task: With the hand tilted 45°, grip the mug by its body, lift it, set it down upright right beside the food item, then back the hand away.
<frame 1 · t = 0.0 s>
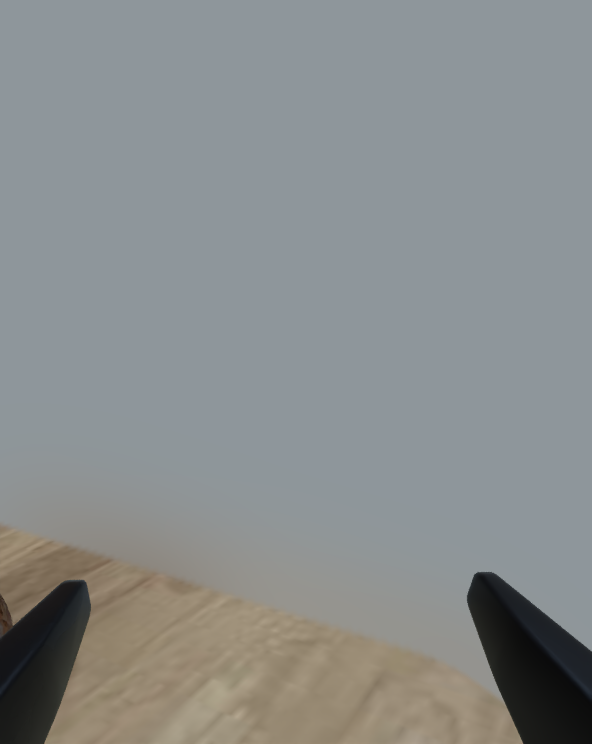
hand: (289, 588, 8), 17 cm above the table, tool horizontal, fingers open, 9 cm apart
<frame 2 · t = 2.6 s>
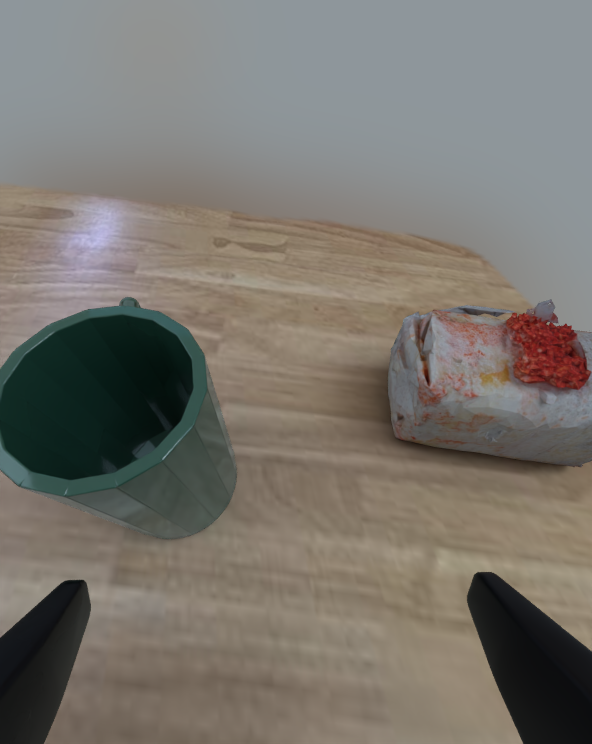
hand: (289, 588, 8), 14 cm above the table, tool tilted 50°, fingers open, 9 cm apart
food item: (468, 415, 27), on the table
mug: (180, 477, 23), on the table
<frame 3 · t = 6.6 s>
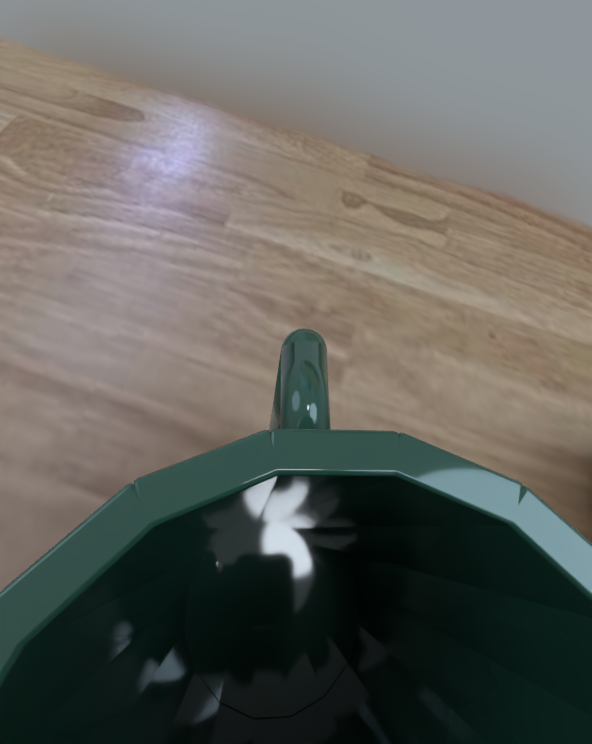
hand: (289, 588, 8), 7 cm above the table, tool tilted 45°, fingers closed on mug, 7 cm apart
mug: (273, 603, 14), on the table, touching gripper
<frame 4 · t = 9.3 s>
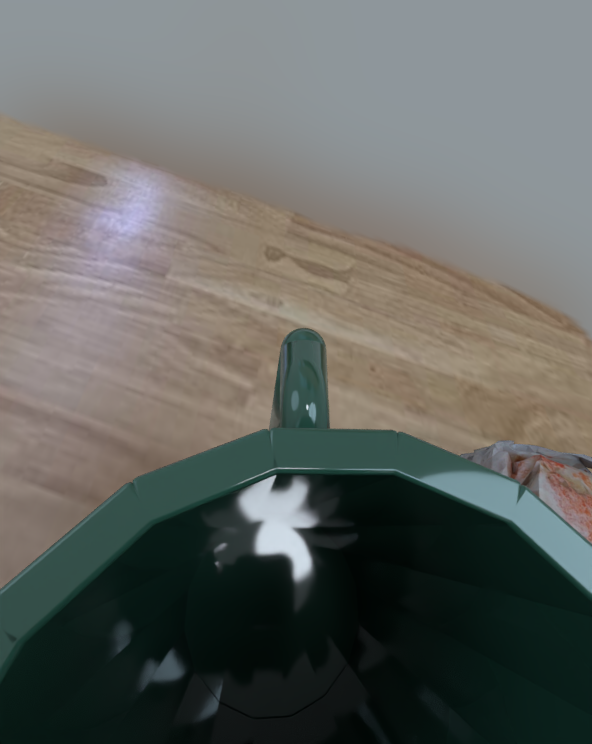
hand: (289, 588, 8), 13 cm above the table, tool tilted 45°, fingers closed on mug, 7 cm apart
food item: (531, 553, 22), on the table
mug: (273, 603, 14), point 6 cm above the table, touching gripper
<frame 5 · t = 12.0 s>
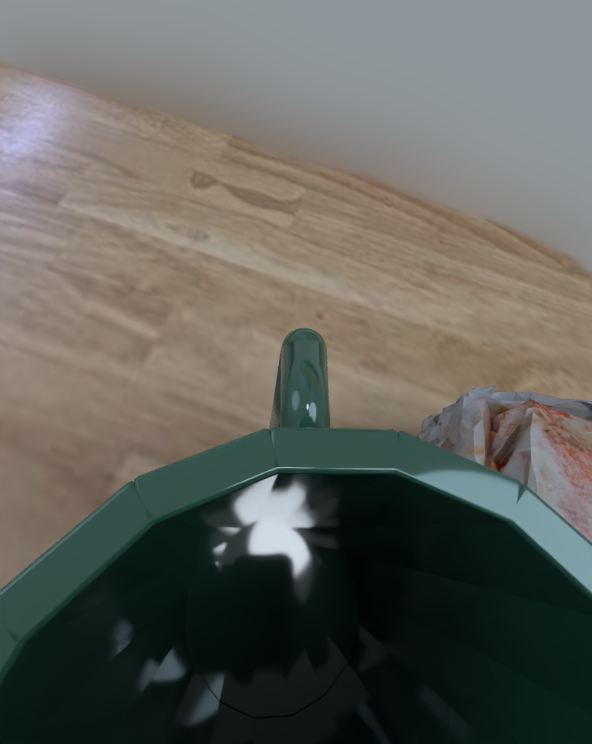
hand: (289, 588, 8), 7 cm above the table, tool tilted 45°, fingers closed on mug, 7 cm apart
food item: (524, 550, 16), on the table
mug: (273, 602, 14), on the table, touching gripper
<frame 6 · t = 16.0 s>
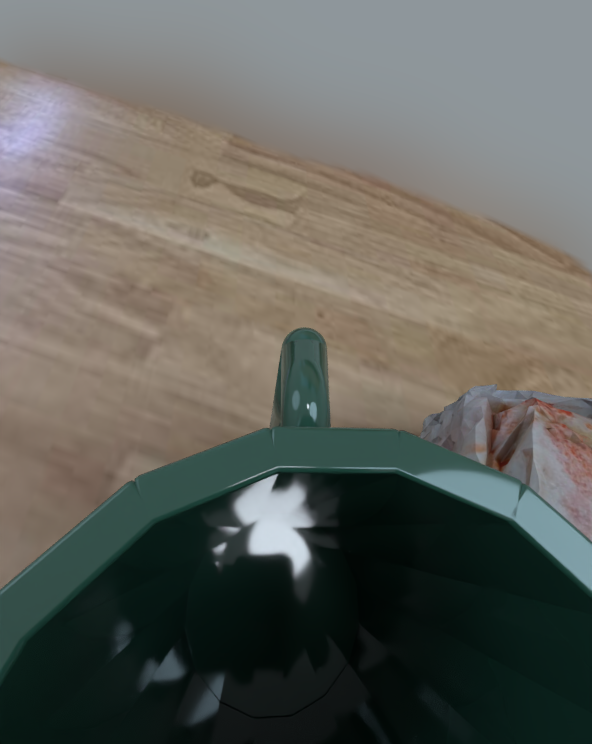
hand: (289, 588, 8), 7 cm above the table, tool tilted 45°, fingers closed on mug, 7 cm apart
food item: (526, 550, 16), on the table
mug: (273, 602, 14), on the table, touching gripper
when the fingers open (7 cm above the table, at t = 19.7 s): mug stays where it is, on the table.
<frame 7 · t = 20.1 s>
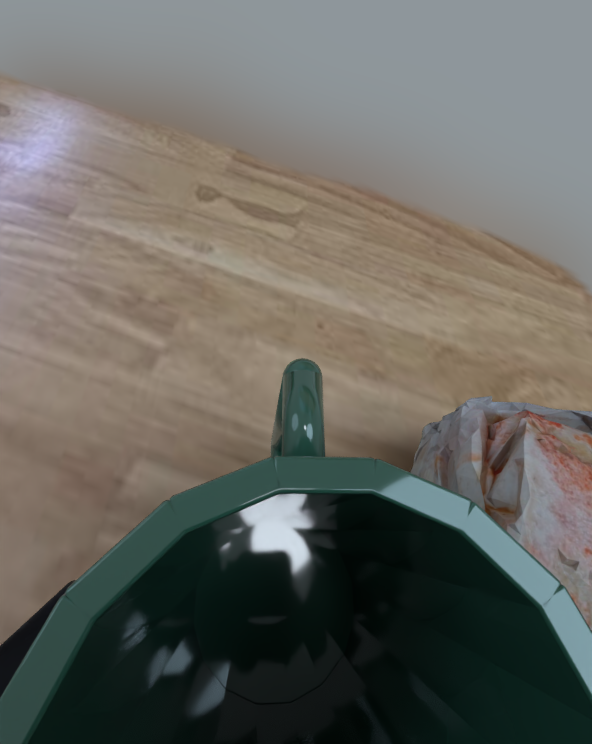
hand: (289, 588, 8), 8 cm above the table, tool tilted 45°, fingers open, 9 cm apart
food item: (520, 553, 17), on the table, touching gripper
mug: (275, 599, 15), on the table
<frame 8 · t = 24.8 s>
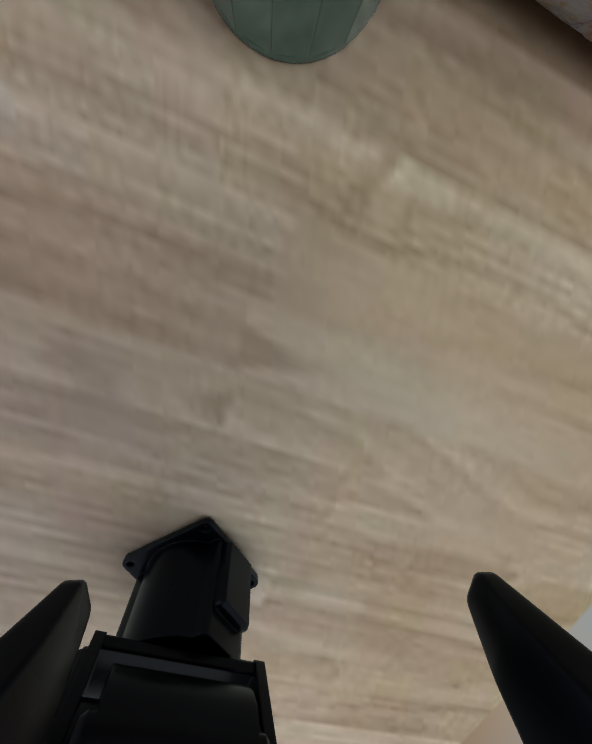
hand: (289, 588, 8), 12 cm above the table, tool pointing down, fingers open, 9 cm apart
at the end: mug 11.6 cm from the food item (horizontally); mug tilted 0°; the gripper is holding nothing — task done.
